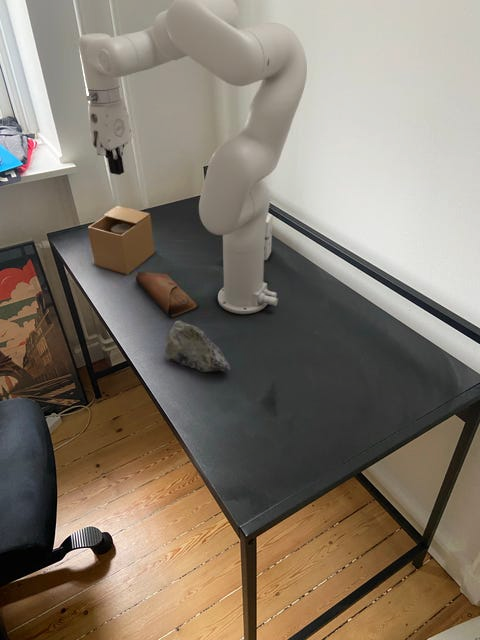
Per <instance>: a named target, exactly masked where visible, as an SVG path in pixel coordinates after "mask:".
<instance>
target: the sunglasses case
mask: <svg viewBox="0 0 480 640" xmlns="http://www.w3.org/2000/svg"><path fill="white" fill-rule="evenodd" d="M135 281H136V283H137V284H138V285H139V286H140V287H141V288H142V289H143V290H144V291H145V292H146V293H147V294H148V295H149V296H150V297H151V299H153V300H154V301H155V303H157V305H158V306H159V307H160V308H161V309H162V311H164V312H165V313H166V315H167V316H170V317H172V318H174V317H177V316H180V315H183V314H186V313H187V312H190V311H192V310H194V309H196V308H197V306H198V305H197V303H196V302H195V301H194V300H193V299H192V298H191V297H190V296H189V295H188V294H187V293H186V291H184V290H183V289H182V287H180V286H179V285H178V284H177V283H176V282H175V281H174V280H173V278H172V277H170V275H168V273H155V272H154V273H152V272H146V271H138V272H137V274H136V276H135Z"/></svg>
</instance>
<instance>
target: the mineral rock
mask: <svg viewBox="0 0 480 640" xmlns="http://www.w3.org/2000/svg"><path fill="white" fill-rule="evenodd" d="M165 357H166V360H167V361H168V362H176V363H178V364H180V365H181V366H188V367H190V368H192V369H196V370H198V371H199V372H201V373H207V372H229V371H230V370H231V369H232V368H231V366H230V364H229V362H228V360H227V358H225V355H224V353H223V351H221V349H220V348H219V347H218V345H216V344H215V343H214V342H213V341H211V340H210V339H209V338H208V337H207V336H206V334H205V332H204V331H203V330H202V329H200V328H199V327H198V326H195V325H194V324H190V323H187V322H184V321H182V320H176V321H174V323H173V325H172V327H171V329H170V331H169V333H168V336H167V340H166V346H165Z"/></svg>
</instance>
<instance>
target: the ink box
mask: <svg viewBox="0 0 480 640" xmlns="http://www.w3.org/2000/svg"><path fill="white" fill-rule="evenodd" d="M273 217H274V216H273V214H271V213H268V215H267V220H266V227H265V245H264V261H267V260H268V259H269V257H270V255H271V253H272V241H273V240H272V239H273Z"/></svg>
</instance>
